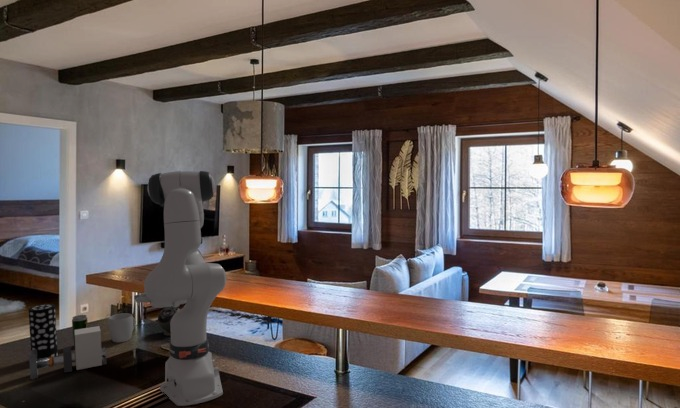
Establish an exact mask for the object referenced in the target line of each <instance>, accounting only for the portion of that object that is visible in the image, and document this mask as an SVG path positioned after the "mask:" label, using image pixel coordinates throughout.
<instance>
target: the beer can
mask: <svg viewBox="0 0 680 408" xmlns="http://www.w3.org/2000/svg"><path fill="white" fill-rule="evenodd" d="M71 325H72V326H71V328H72V329H71V330H72V344H73V347H74V348H75V331H74V330H77V329H83V328H89V327H88V326H89V325H88V317H87V315H86V314H80V315H79V314H78V315H75V316H73V317H72V319H71Z"/></svg>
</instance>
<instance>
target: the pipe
mask: <svg viewBox="0 0 680 408" xmlns="http://www.w3.org/2000/svg"><path fill="white" fill-rule="evenodd" d="M101 352H102V366H103V365H104V366H105V365H107V362H108V361H107V348H106V347H101ZM71 357H72V363H76V352H74V353H72V352H71ZM28 359H29V360H28V363H29V377H30V378H29V379H32V380H36V379H35V378H37V379H38V378H39V369H43V368H52V367H54V366H60V365H61V366H62V365H64V359H63V354H62V355H58V356H56V357H53V356H51V357H49V358H44V359H39V360H38V358H37V349H35V350H31V349H30V350H29V354H28Z"/></svg>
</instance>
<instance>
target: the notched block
mask: <svg viewBox="0 0 680 408" xmlns="http://www.w3.org/2000/svg"><path fill="white" fill-rule="evenodd" d="M74 331H75V347H74V349H75V350H74V351H75V353H76V362H75V364H76V365H75V366H76V367H75V368H76V371H79V370H84V369H88V368H89V369H90V368H93V367H99V366H103V357H102V352H101V348H102V334H101V333H102V331H101V328H100V325H98V326H90V327H88V328H83V329H77V330H74Z"/></svg>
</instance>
